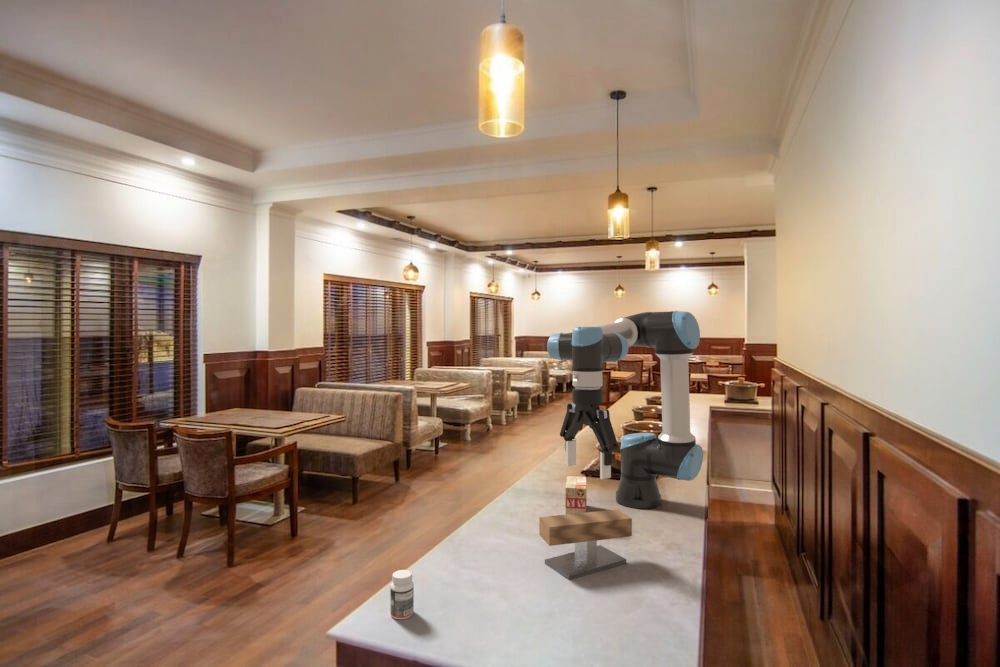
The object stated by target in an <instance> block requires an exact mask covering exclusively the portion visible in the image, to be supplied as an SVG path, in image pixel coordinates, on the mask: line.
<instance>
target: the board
mask: <svg viewBox="0 0 1000 667" xmlns="http://www.w3.org/2000/svg"><path fill="white" fill-rule="evenodd" d="M538 520H539V536H540V538H541V539H542V540H544V542H545V543H546V544H547V545H548V546H549V547H551V546H552V547H553V546H561V545H562V546H563V545H569V544H575V543H579V542H587V541H596V540H597V541H604V540H612V539H621V538H628V537H629V538H630V537H632V536H633V523H632V522H633V518H632V517H631V516H629V515H627V514H626V513H625V512H623V511H621V510H620V509H619V508H617V509H609V510H608V509H607V510H599V511H597V510H596V511H588V512H586V513H576V514H566V513H565V514H559V515H550V516H548V515H547V516H539V518H538Z"/></svg>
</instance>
